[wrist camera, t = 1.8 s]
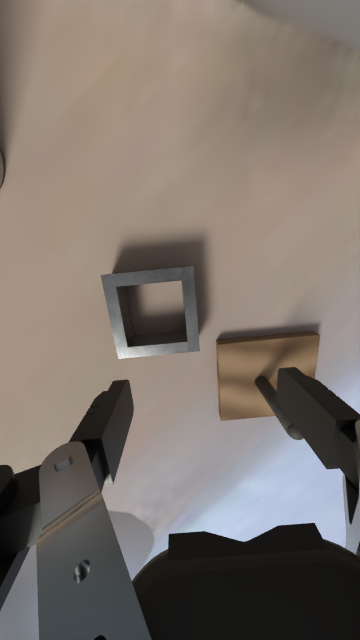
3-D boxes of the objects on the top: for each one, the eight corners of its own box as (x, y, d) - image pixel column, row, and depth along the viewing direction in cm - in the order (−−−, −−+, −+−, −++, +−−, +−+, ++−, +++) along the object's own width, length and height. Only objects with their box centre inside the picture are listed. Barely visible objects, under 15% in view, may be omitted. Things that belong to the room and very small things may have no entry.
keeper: (216, 340, 29) (240, 387, 18) (312, 331, 29) (396, 372, 18) (219, 413, 33) (240, 488, 22) (304, 406, 33) (368, 476, 22)
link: (111, 273, 26) (100, 275, 22) (191, 265, 26) (193, 266, 22) (125, 346, 29) (118, 358, 25) (196, 339, 29) (199, 351, 25)
